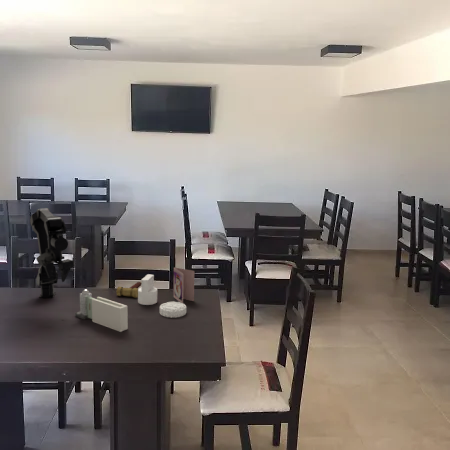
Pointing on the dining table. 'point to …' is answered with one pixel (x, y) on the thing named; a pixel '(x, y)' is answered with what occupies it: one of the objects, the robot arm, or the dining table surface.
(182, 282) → the greeting card
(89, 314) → the door panel
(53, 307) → the dining table surface
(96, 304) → the white slotted block
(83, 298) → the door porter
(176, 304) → the mooncake
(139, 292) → the base with upright slab
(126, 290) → the gavel
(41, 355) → the dining table surface
